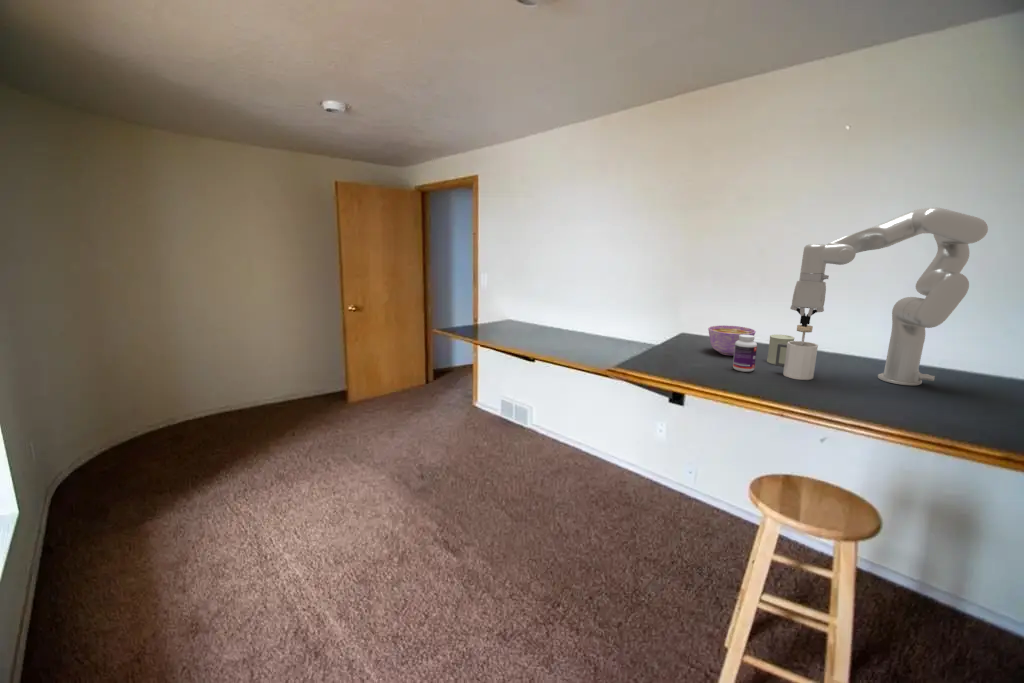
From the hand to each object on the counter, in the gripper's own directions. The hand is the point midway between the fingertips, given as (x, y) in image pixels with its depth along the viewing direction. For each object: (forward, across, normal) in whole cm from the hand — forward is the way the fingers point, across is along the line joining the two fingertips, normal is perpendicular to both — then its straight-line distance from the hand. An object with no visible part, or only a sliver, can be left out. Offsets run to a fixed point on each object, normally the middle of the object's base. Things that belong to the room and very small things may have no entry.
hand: (804, 325), depth 171 cm
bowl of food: (+20, +30, -22) cm, 42 cm away
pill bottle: (+20, +19, +3) cm, 28 cm away
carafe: (+20, +1, 0) cm, 20 cm away
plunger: (+14, 0, 0) cm, 14 cm away
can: (+20, +9, -18) cm, 29 cm away
